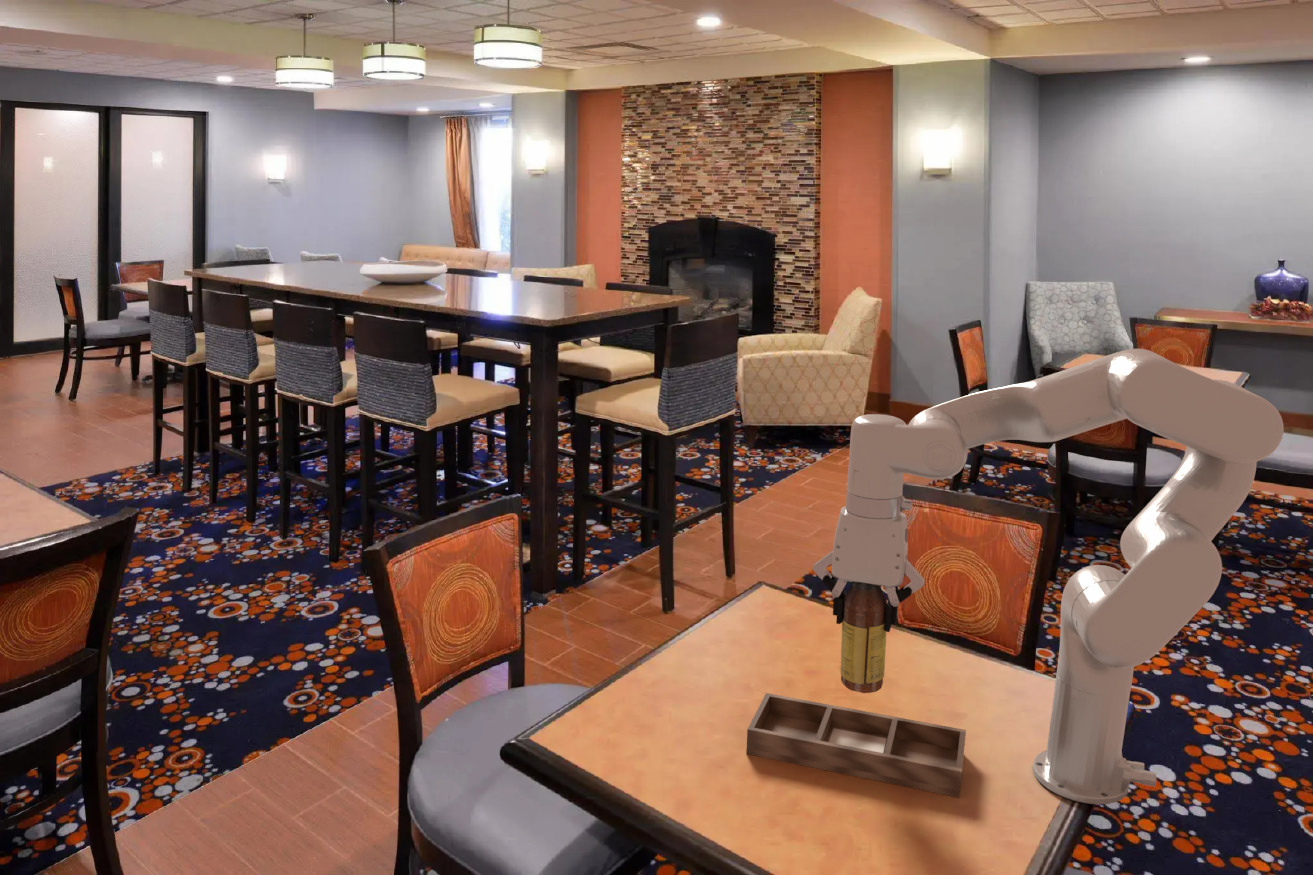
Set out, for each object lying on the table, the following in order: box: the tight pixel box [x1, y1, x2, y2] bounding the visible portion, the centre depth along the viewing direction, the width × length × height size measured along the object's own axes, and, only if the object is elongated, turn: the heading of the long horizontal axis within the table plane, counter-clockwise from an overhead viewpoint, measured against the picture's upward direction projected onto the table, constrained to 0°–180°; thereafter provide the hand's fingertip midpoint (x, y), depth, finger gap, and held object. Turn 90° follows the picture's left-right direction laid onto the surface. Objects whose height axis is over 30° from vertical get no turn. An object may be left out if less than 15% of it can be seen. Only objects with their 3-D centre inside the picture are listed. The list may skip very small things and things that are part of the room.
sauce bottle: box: [840, 582, 888, 694], centre depth 141 cm, size 7×6×20 cm
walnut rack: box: [746, 692, 967, 798], centre depth 146 cm, size 30×12×4 cm, turn 71°
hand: (864, 623), depth 141 cm, fingers closed on sauce bottle, 6 cm apart
